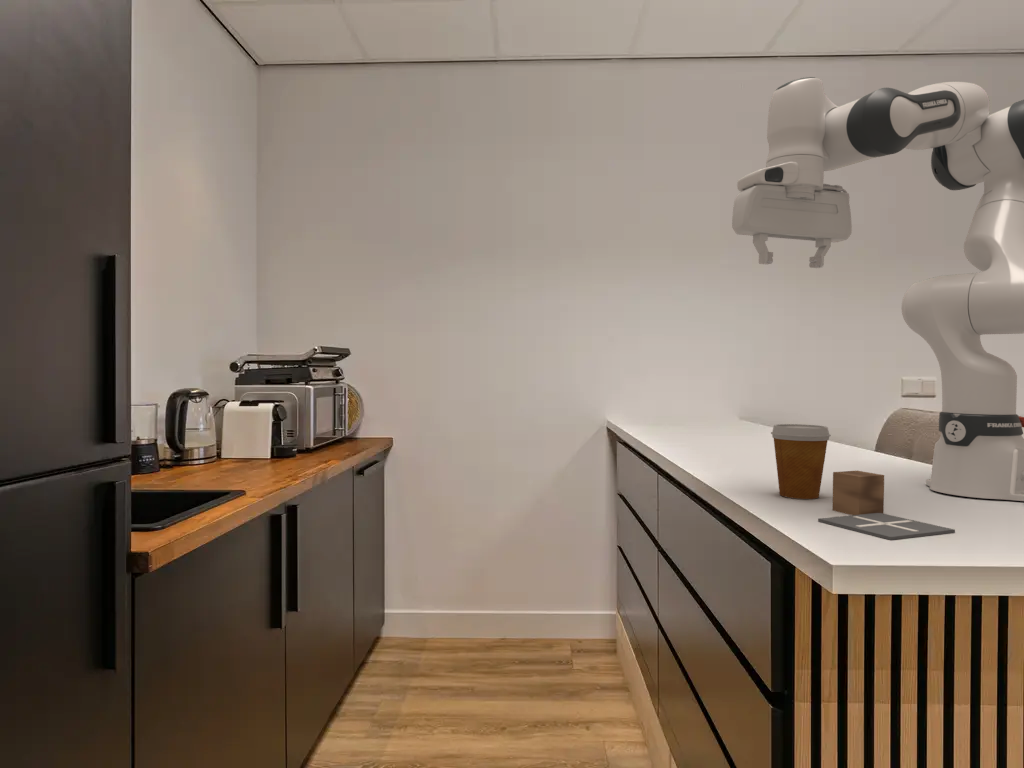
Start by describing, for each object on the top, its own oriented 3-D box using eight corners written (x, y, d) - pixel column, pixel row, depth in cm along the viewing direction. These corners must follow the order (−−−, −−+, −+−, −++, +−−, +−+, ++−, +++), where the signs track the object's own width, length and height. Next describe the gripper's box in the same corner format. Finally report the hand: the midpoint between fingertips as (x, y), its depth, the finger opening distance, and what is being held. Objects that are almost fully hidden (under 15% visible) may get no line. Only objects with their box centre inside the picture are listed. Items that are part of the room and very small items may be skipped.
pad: (879, 515, 109) (879, 512, 109) (955, 532, 98) (955, 529, 98) (818, 521, 105) (818, 518, 105) (890, 540, 94) (890, 536, 94)
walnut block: (856, 508, 115) (857, 470, 115) (883, 514, 110) (884, 475, 110) (832, 510, 113) (833, 472, 113) (859, 517, 108) (859, 476, 108)
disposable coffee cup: (819, 491, 130) (820, 424, 129) (837, 501, 120) (838, 429, 120) (763, 490, 131) (764, 423, 130) (777, 500, 121) (779, 428, 121)
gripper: (836, 190, 125) (833, 272, 125) (728, 179, 120) (725, 264, 120) (862, 181, 118) (859, 267, 119) (750, 169, 113) (747, 258, 114)
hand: (791, 265), depth 119 cm, fingers open, 8 cm apart
